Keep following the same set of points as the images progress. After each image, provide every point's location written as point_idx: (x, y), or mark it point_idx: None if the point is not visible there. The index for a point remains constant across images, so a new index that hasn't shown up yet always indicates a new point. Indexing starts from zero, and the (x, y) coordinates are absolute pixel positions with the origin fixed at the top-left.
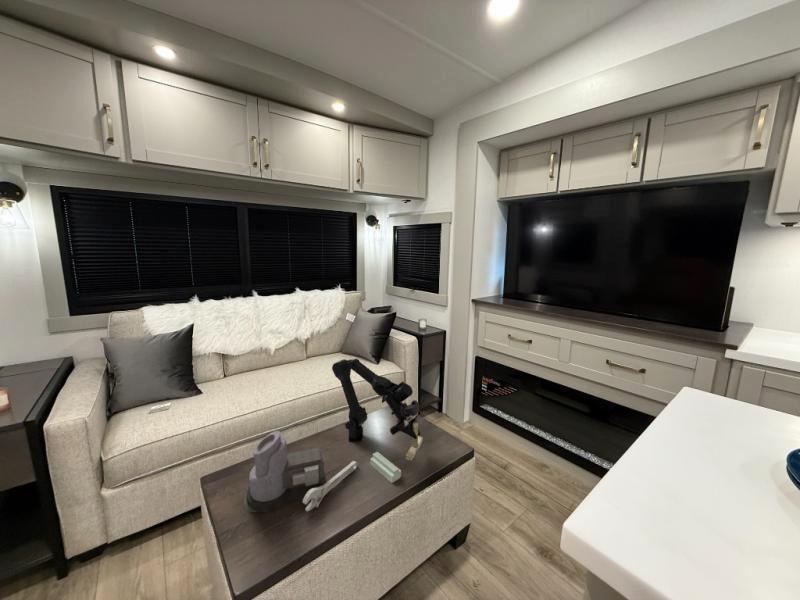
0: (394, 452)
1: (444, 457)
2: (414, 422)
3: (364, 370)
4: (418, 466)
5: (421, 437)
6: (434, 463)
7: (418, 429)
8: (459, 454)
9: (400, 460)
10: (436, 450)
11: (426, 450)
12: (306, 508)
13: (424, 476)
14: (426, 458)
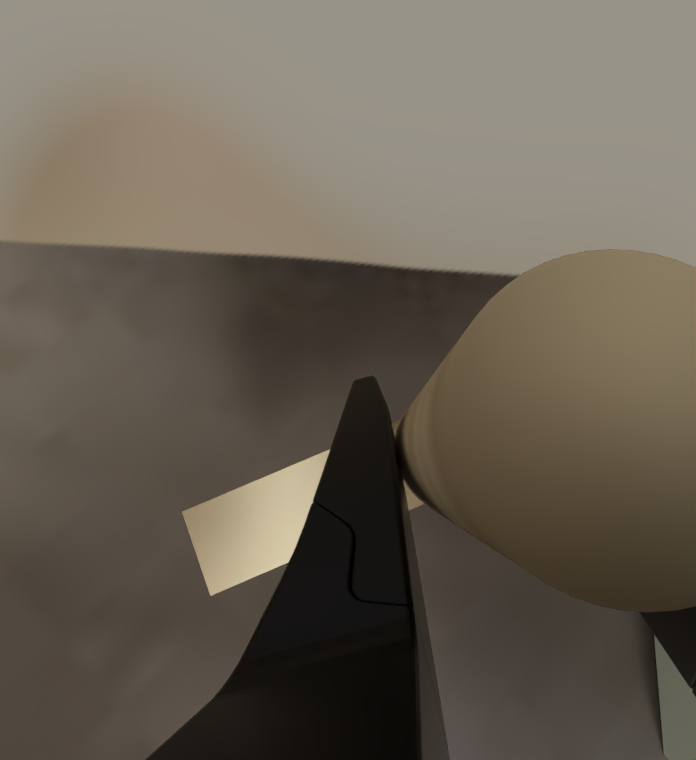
0: (457, 720)
1: (147, 312)
2: (605, 552)
3: None
4: (414, 393)
5: (202, 520)
6: (276, 322)
7: (352, 439)
8: (22, 249)
9: (491, 575)
10: (116, 425)
11: (184, 494)
12: None
13: (463, 277)
14: (277, 415)
